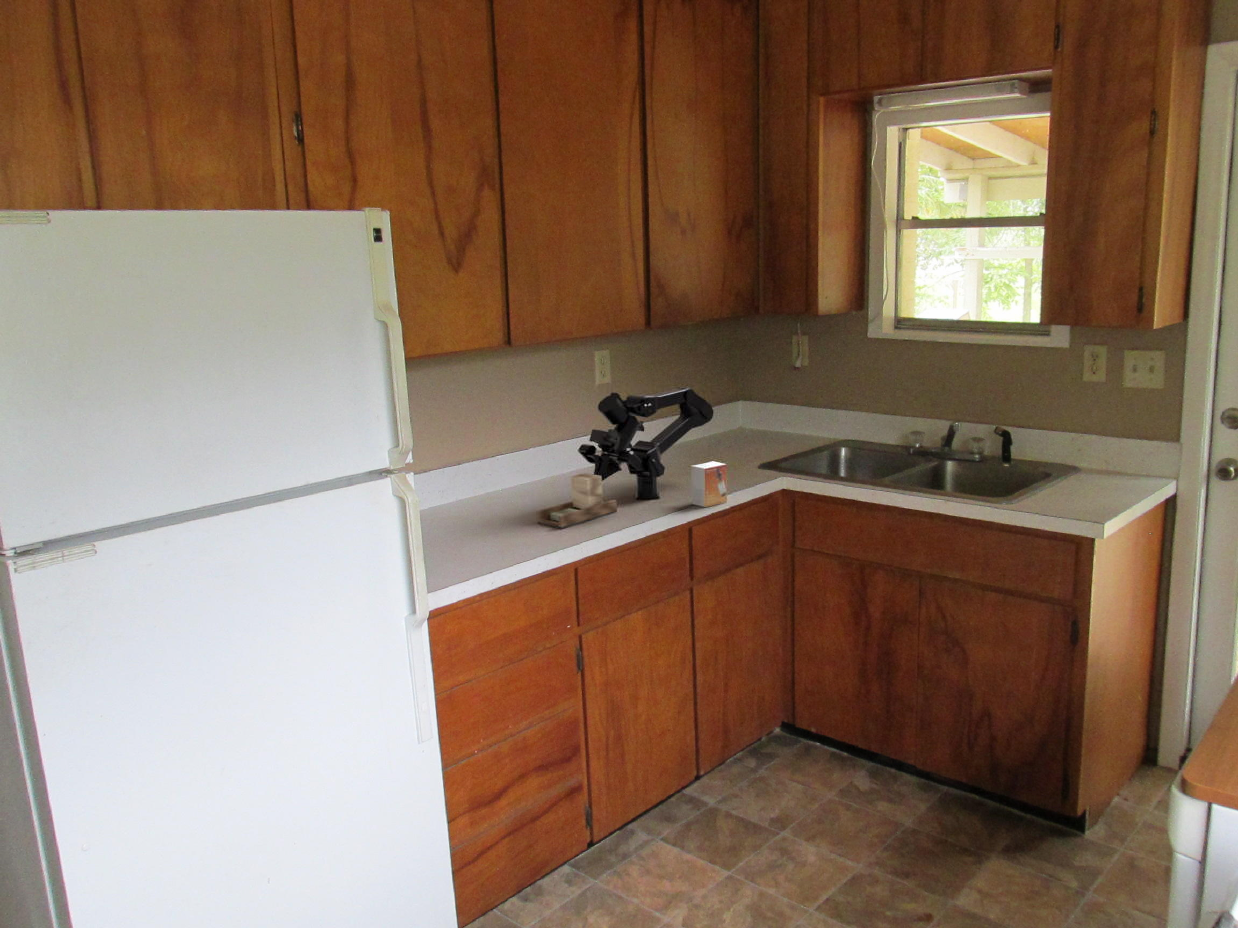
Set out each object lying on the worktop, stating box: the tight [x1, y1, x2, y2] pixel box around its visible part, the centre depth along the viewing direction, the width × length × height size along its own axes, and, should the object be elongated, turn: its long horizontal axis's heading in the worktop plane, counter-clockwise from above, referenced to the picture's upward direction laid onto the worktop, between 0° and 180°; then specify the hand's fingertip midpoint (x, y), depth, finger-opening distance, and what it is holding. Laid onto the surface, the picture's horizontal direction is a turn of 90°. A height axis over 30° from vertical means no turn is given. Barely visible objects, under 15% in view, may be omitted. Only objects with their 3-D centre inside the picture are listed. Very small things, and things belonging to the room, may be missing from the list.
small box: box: [690, 460, 728, 508], centre depth 274 cm, size 8×6×10 cm
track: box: [536, 499, 618, 530], centre depth 266 cm, size 20×9×3 cm, turn 136°
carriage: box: [570, 472, 604, 509], centre depth 267 cm, size 5×6×8 cm
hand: (594, 483), depth 269 cm, fingers closed, pressing on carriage
